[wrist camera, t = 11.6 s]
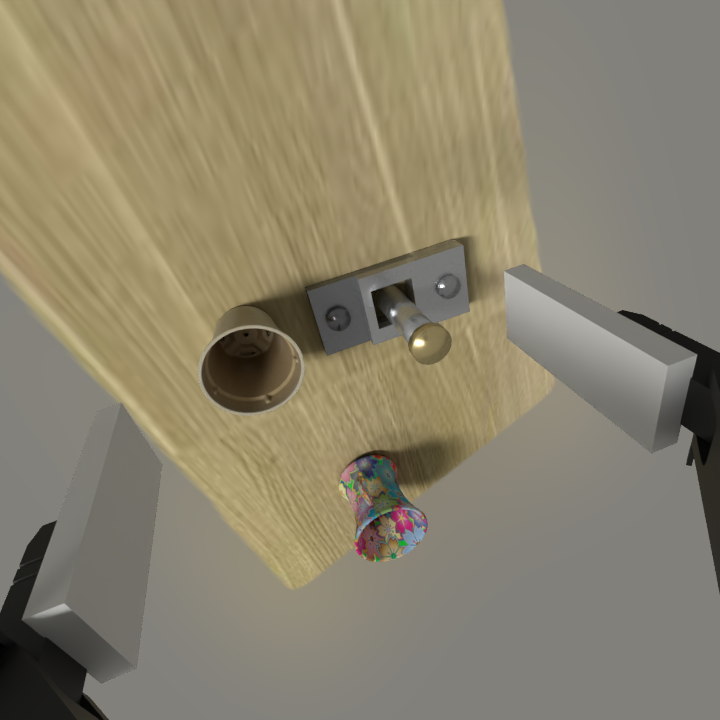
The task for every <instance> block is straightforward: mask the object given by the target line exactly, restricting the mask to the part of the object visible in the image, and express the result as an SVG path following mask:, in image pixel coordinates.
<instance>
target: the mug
mask: <svg viewBox="0 0 720 720" xmlns="http://www.w3.org/2000/svg"><path fill="white" fill-rule="evenodd" d="M397 474H398V473H397V468H396V465H395V464H394V462H393V461H392V460H390V459H389V458H387V457H384V456H380V455H370V456H366V457H362V458H360V459H358V460H356V461H354V462H353V463H351V464H350V465H349V466H348V467H347V468H346V469H345V470H344V471H343V473H342V475H341V477H340V480H339V491H340V493H341V495H342V496H343V497H344V498H345V499H346V500H348V501H349V503H350V504H351V506H352V508H353V510H354V514H355V519H356V535H355V541H354V544H355V549H356V551H357V553H358V554H359V555H360V556H361V557H362V558H364V559H366V560H369V561H374V562H384V561H389V560H393V559H396V558H399V557H401V556H403V555H404V554H406V553H408V552H409V551H411V550H412V549H413V548H415V547H416V546H417V545H418V544H419V543H420V541H421V540H422V539H423V537H424V535H425V533H426V530H427V519H426V517H425V515H424V513H423V512H422V511H420V510H419V509H418V508H416V507H415V506H414V505H412V504H411V503H410V502H409V501H408V500H407V499H406V498H405V496H404V495H403V493H402V492H401V490H400V488H399V485H398V482H397Z"/></svg>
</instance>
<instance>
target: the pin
mask: <svg viewBox="0 0 720 720" xmlns="http://www.w3.org/2000/svg"><path fill="white" fill-rule="evenodd" d="M375 302H376V304H377V306H378V307H379V308H380V310H381V311H382V312H383V313H384V314H385V316H386V317H387V318H388V319H389V321H390V322H391V323H392V324H393V325H394V327H395V328H396V329H397V330H398V332H399V333H400V334H401V335H402V336H403V338H404V339H405V340H406V341H407V343H408V347H409V351H410V353H411V354H412V356H413V357H414V358H415V359H416V360H417V361H418V362H419V363H421V364H426V365H429V364H434V363H437V362H439V361H440V360H442V359H443V358H444V357H445V356H446V355H447V353H448V352H449V350H450V347H451V342H452V341H451V336H450V334H449V332H448V331H447V330H446V329H445V328H444V327H443V326H442V325H440V324H438V323H435V322H431V321H430V320H429V319H428V318H427V317H426V316H425V315H424V314H423V313H422V312H421V311H420V310H419V309H418V308H417V307H416V306H415V305H414V304H413V303H412V302H411V301H410V300H409V299H408V298H407V297H406V296H405V295H404V294H403V293H402V292H401V291H400V290H399V289H398V288H397V287H396V286H394V285H389V286H386V287H383V288H380V289H379V290H378V291H377V293H376V296H375Z"/></svg>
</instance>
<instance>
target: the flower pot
mask: <svg viewBox="0 0 720 720" xmlns="http://www.w3.org/2000/svg"><path fill="white" fill-rule="evenodd" d="M267 330H269V331H270V335H269V336H267V332H266V331H267ZM245 333H248V336H244V334H245ZM222 337H224V338H225V340H222ZM250 352H254V354H252V355H248V356H245V355H242V353H250ZM304 373H305V363H304V358H303V355H302V352H301V350H300V348H299V346H298V345H297V344H296V342H295V341H294V340H293V339H292V338H291V337H290V336H288V335H287V334H286V333H284V332H283V331H281V330H279V329H278V328H277V326H276V325H275V323H274V322H273V320H272V319H271V317H270V316H269V315H268V314H267V313H265V312H264V311H262V310H261V309H259V308H256V307H251V306H240V307H236V308H233V309H231V310H229V311H227V312H226V313H225V314H224V315H223V316H222V317H221V318H220V319H219V321H218V322H217V325H216V328H215V332H214V336H213V339H212V341H211V342H210V343H209V344H208V345H207V347H206V348H205V350H204V351H203V353H202V355H201V358H200V360H199V365H198V380H199V384H200V387H201V389H202V391H203V393H204V395H205V396H206V397H207V399H208V400H210V401H211V402H212V403H213V404H214V405H215V406H216V407H218V408H220V409H222V410H224V411H226V412H229V413H231V414H236V415H243V416H252V415H260V414H264V413H268V412H270V411H273V410H275V409H277V408H279V407H281V406H282V405H284V404H286V403H287V402H288V401H289V400H290V399H291V398H292V397H293V396H294V395H295V394H296V393H297V391H298V390H299V388H300V386H301V384H302V382H303V378H304Z"/></svg>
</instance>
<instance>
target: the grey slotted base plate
mask: <svg viewBox="0 0 720 720" xmlns="http://www.w3.org/2000/svg"><path fill="white" fill-rule="evenodd" d="M404 280H405V284H406V290H407V295H408V299H409V300H410V301H411V302H412V303H413V304H414V305H415V306H416V307H417V308H418V309H419V310H420V311H421V312H422V313H423V314H424V315H425V316H426V317H427V318H428V319H429V320H430V321H431V322H435V323H438V322H441V321H443V320H446V319H449V318H452V317H455V316H458V315H461V314H463V313H466V312H469V311H470V308H469V298H468V288H467V278H466V267H465V257H464V247H463V244H461V243H459V242H457V241H456V240H454V239H451V240H448V241H445V242H442V243H439V244H436V245H433V246H430V247H427V248H424V249H421V250H418V251H415V252H412V253H409V254H406V255H403V256H400V257H397V258H393V259H390V260H387V261H384V262H381V263H378V264H375V265H372V266H369V267H366V268H363V269H360V270H357V271H354V272H351V273H348V274H345V275H342V276H339V277H336V278H333V279H330V280H327V281H324V282H321V283H318V284H314V285H311V286H308V287H305V289H306V292H307V295H308V298H309V302H310V305H311V308H312V311H313V314H314V317H315V321H316V324H317V327H318V330H319V333H320V336H321V340H322V343H323V346H324V349H325V352H326V354H327V355H330V354H333V353H336V352H339V351H341V350H344V349H347V348H350V347H353V346H356V345H359V344H361V343H364V342H367V341H370V340H371V342H372V343H373V345H375V344H378V343H381V342H384V341H387V340H390V339H392V338H395V337H398V336H401V334H400V333H399V332H398V330H397V329H396V328H395V327H394V325H393V324H392V323H391V322H390V321H389V319H388V318H387V317H386V316H383V317H381V318H378V319H377V318H376V313H375V309H374V304H373V300H372V296H371V291H374V290H377V289H380V288H383V287H386V286H389V285H392V284H395V283H398V282H401V281H404Z"/></svg>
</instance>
